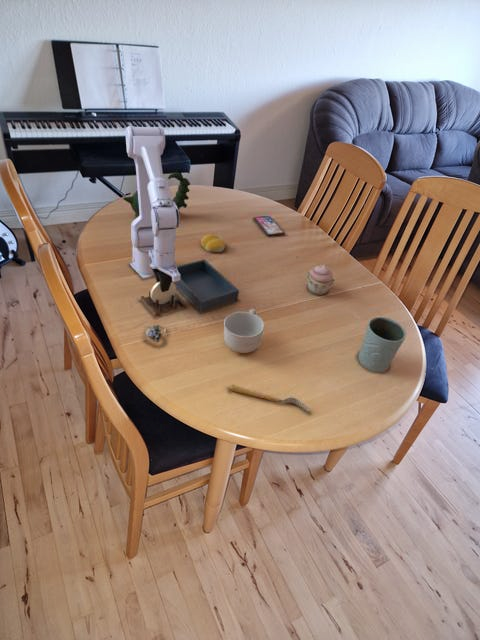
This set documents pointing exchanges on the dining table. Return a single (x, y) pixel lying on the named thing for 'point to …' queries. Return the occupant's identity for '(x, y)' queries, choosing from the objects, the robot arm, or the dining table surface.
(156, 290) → the plate
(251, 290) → the dining table surface
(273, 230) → the smartphone
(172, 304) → the plate rack
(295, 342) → the dining table surface
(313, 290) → the cupcake
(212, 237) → the bread roll
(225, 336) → the teacup
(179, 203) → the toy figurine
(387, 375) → the dining table surface
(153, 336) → the oyster shell
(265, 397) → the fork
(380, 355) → the green cylindrical pot
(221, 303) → the dark blue tray
